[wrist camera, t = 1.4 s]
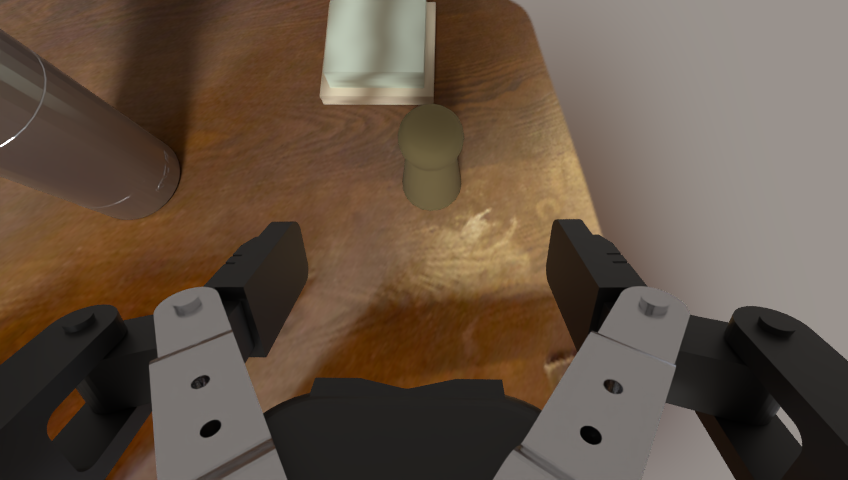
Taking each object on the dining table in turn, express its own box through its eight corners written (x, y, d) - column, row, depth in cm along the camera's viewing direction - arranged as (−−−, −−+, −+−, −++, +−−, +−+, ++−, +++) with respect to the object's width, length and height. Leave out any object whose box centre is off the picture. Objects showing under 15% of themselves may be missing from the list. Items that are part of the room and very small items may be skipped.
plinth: (323, 104, 41) (312, 80, 37) (333, 13, 44) (323, -18, 40) (433, 104, 41) (433, 81, 37) (435, 13, 44) (435, -18, 40)
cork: (449, 219, 38) (454, 174, 27) (393, 199, 38) (377, 147, 28) (469, 166, 39) (482, 104, 28) (415, 148, 40) (408, 80, 29)
